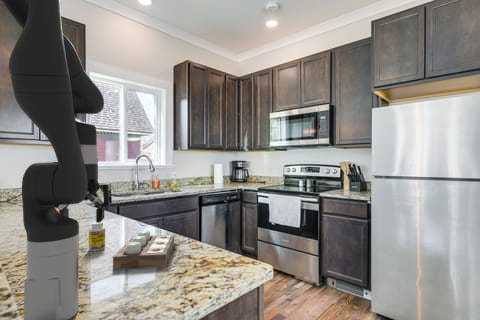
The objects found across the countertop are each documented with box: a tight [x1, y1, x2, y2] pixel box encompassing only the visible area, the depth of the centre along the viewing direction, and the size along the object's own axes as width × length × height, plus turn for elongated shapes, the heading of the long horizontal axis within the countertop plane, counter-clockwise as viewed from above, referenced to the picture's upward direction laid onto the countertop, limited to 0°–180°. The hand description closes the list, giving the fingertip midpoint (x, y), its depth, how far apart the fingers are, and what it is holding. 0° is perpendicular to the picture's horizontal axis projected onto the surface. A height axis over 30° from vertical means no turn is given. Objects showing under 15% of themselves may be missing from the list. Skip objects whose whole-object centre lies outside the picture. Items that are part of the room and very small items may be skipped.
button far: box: [137, 230, 151, 241], centre depth 101 cm, size 5×5×4 cm
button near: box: [125, 242, 141, 255], centre depth 86 cm, size 5×5×4 cm
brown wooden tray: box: [112, 234, 175, 271], centre depth 94 cm, size 23×16×4 cm
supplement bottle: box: [88, 221, 106, 252], centre depth 101 cm, size 6×6×10 cm
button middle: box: [131, 235, 146, 247], centre depth 94 cm, size 5×5×4 cm
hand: (82, 222), depth 70 cm, fingers open, 8 cm apart
